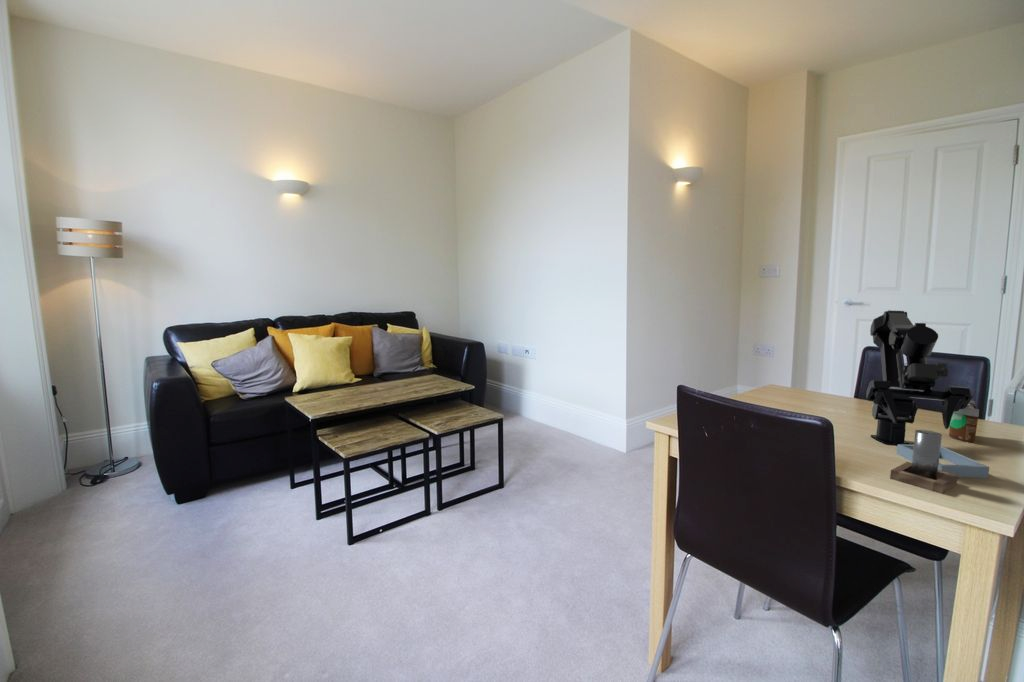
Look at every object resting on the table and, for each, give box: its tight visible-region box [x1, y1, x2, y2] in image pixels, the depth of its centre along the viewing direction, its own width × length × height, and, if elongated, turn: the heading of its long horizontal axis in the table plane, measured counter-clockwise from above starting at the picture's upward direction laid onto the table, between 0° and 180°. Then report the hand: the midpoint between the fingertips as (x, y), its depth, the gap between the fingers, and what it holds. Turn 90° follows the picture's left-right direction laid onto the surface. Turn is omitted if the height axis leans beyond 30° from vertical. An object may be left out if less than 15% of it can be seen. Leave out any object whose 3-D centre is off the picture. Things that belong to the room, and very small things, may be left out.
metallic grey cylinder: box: [911, 429, 943, 480], centre depth 106 cm, size 4×4×11 cm
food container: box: [948, 400, 980, 444], centre depth 138 cm, size 12×6×10 cm, turn 141°
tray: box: [896, 444, 990, 479], centre depth 116 cm, size 14×10×4 cm
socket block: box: [889, 461, 959, 495], centre depth 107 cm, size 9×9×3 cm
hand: (920, 425), depth 110 cm, fingers open, 9 cm apart
